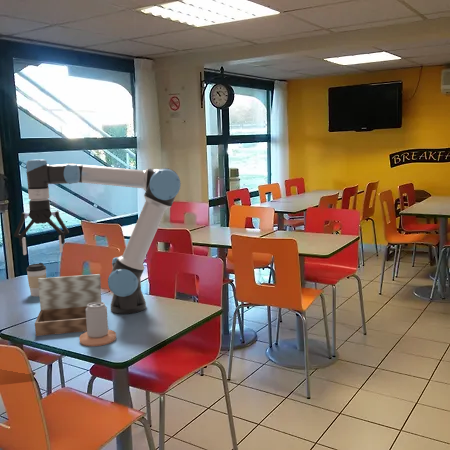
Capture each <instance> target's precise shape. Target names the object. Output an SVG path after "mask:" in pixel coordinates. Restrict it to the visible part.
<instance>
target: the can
mask: <svg viewBox="0 0 450 450" xmlns="http://www.w3.org/2000/svg"><path fill="white" fill-rule="evenodd" d="M105 304H106V303H105V302H103V301H101V302H92V303H89V304H88V305H87V306H88V307H87V308H86V324H87V331H86V332H87V335H88V336H89V337H90V338H102V337H104V336H106V334H107V333H108V330H109V326H108V324H109V323H108V307H107V306H106V305H105Z"/></svg>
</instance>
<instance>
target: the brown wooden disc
mask: <svg viewBox="0 0 450 450" xmlns="http://www.w3.org/2000/svg"><path fill="white" fill-rule="evenodd" d="M78 340H79V344H80V345H82V346H86V347H101V346H105V345H108V344H111V343H113V342H115V341H116V340H117V332H115V330H112V329H108V333H107V334H106V336H104V337H102V338H90V337H89V336H88V335H87V331H84V333H83V332H82V333H81V334H80V336H79V339H78Z"/></svg>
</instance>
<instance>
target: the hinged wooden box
mask: <svg viewBox="0 0 450 450" xmlns="http://www.w3.org/2000/svg"><path fill="white" fill-rule="evenodd" d="M38 283H39V296H38V297H39V307H40V311H39V312H38V315H37V317H36V319H35V322H34V330H35V337H39V336H40V337H42V336H51V335H59V334H70V333H71V334H72V333H83V332H84V333H85V332H87V324H86V308H87V307H88V306H87V305H88V304H89V303H92V302H102V289H101V287H102V286H101V274H100V273H97V274H96V273H95V274H83V275H67V276H55V277H46V278H38Z"/></svg>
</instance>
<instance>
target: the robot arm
mask: <svg viewBox="0 0 450 450" xmlns="http://www.w3.org/2000/svg"><path fill="white" fill-rule="evenodd" d="M26 181H27V192H28V199H29V201H28V205H29V206H28V207H29V211H28V212H22V213H21V214H20V220H19V222H18V225H17V228H16V229H15V232H14V234H13V237H14V238H18V239H19V246H20V247H22V254H23V256H26V255H27V254H28V252H27V240H26V237H24V236H25V235H26V233H27V232H28V231H29V230H30V229H31V228H32V226H33V224H36V225H38V224H39V225H40V224H46V223H47V224H48V225H49V226H51V227H52V228H53V229H54V230H55V231H56V232H57V233H58V243H59V244H58V245H59V253H60V254H62V253H63V245H64V244H65V243H66V242H65V241H66V239H65V237H66V235H69V233H70V231H69V229H68V228H67V226H66V224H65V223H64V221H63V219H62V218H61V216H60V212H59V210H56V211H51V201H50V190H49V189H50V188H49V185H55V184H56V185H62V184H63V185H64V184H65V185H66V184H67V185H68V184H69V185H72V184H78V183H79V184H80V183H81V184H82V183H83V184H90V185H91V184H94V185H101V186H102V185H103V186H112V187H123V188H135V189H143V190H144V191H145V192H144V195H143V197H144V199H145V202H144V205H143V207H142V210H141V211H140V213H139V217H138V219H137V220H136V223H135V225H134V228H133V230H132V233H131V235H130V237H129V240H128V241H127V245H126V247H125V249H124V251H123V254H122V255H120V256H115V257H113V258H112V260H111V261H112V262H111V267H112V270H111V271H110V274H109V276H108V278H107V286H108V288H109V291H110V292H111V293H113V295H112V298H111V301H110V311H111V312H112V313H115V314H123V315H125V314H127V315H128V314H133V313H138V312H142V311H144V310H145V309H147V302H146V300H145V297H144V294H143V292H142V283H141V281H142V280H141V278H142V276H143V273H144V270H145V266H144V261H145V259H146V257H147V254H148V252H149V249H150V247H151V245H152V242H153V240H154V238H155V235H156V233H157V230H158V229H159V226H160V224H161V223H162V219H163V217H164V215H165V212H166V211H167V209H169V208H172V205H173V204H174V201H175V199H176V197H177V195H178V194H179V193H180V189H181V184H182V183H181V180H180V176H179V175H178V173H177V172H176V171H175V170H173V169H172V168H168V167H163V168H149V167H148V168H146V169H145V170H143V169H142V170H141V169H134V168H133V169H132V168H124V167H123V168H122V167H113V166H102V165H101V166H100V165H91V164H82V163H81V164H79V163H74V162H68V163H62V164H48V161H47V160H46V159H29V160H27V161H26ZM52 216H53V217H54V218H55V219H56V221H57V222H58V224H59V226H60V227H61V228H60V227H59V226H58V225H57V224H56V223H55V222H54V221H53V220H52V219H51V217H52ZM28 217H29V218H30V219H31V220H30V222H29V223H27V226H26V227H25V228H24V230H22V228H23V225H24V222H25V221H26V219H27V218H28ZM21 230H22V232H21ZM20 232H21V233H20Z"/></svg>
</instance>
